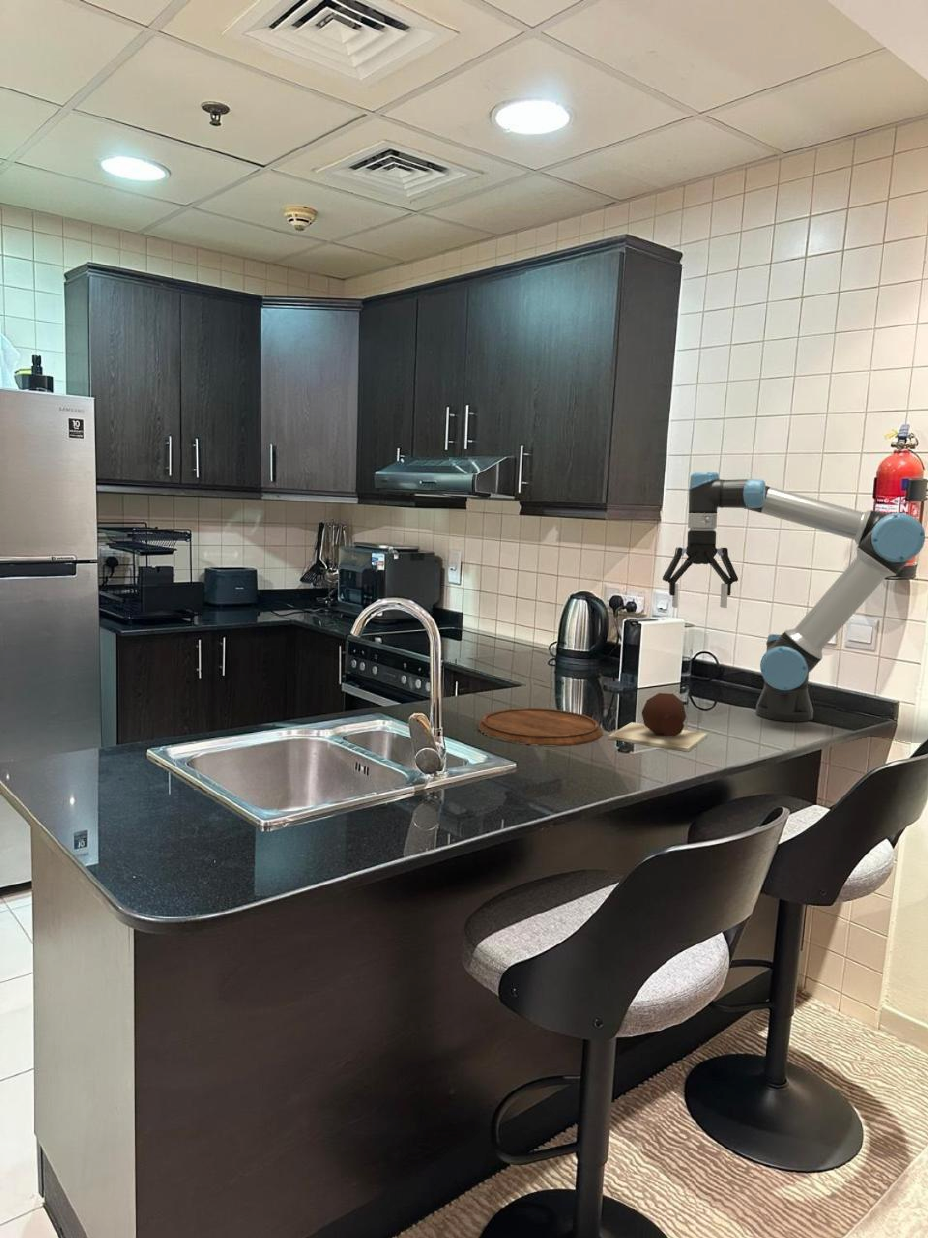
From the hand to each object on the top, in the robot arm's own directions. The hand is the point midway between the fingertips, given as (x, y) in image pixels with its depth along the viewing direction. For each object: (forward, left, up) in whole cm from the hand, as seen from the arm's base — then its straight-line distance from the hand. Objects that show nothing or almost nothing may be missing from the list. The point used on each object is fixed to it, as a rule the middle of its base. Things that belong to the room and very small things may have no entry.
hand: (699, 607), depth 238 cm
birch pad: (+1, +29, -30) cm, 42 cm away
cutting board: (+29, +39, -31) cm, 58 cm away
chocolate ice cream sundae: (-5, +36, -25) cm, 45 cm away
